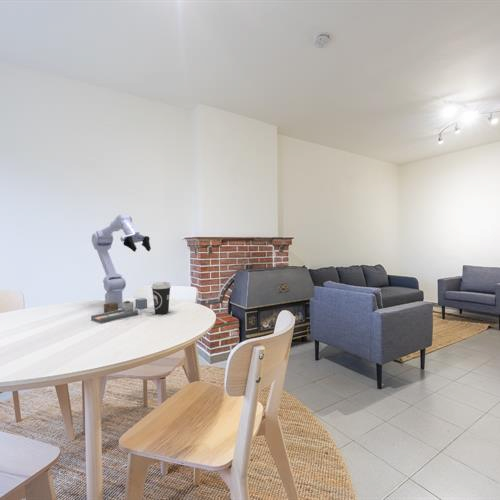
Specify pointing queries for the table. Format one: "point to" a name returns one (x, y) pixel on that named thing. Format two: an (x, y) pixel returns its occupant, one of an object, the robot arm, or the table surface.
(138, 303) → the slate-blue block
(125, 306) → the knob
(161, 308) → the coffee cup
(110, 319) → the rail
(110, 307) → the walnut block
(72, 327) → the table surface
